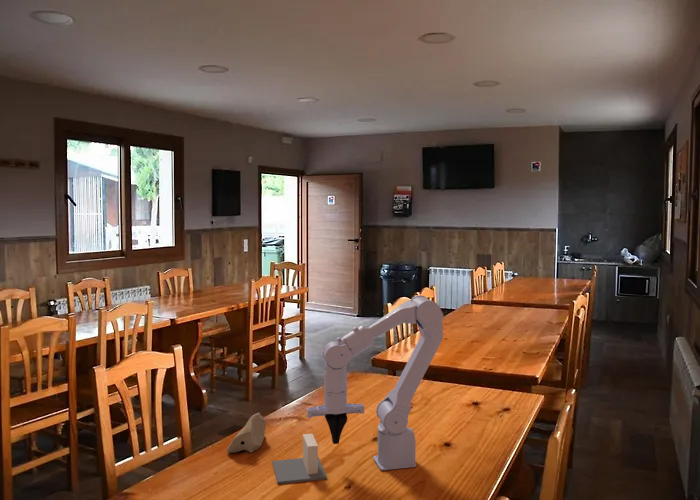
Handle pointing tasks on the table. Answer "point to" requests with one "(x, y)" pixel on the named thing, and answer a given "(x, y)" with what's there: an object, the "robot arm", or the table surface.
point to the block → (310, 453)
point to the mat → (295, 471)
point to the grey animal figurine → (249, 435)
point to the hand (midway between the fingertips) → (335, 442)
